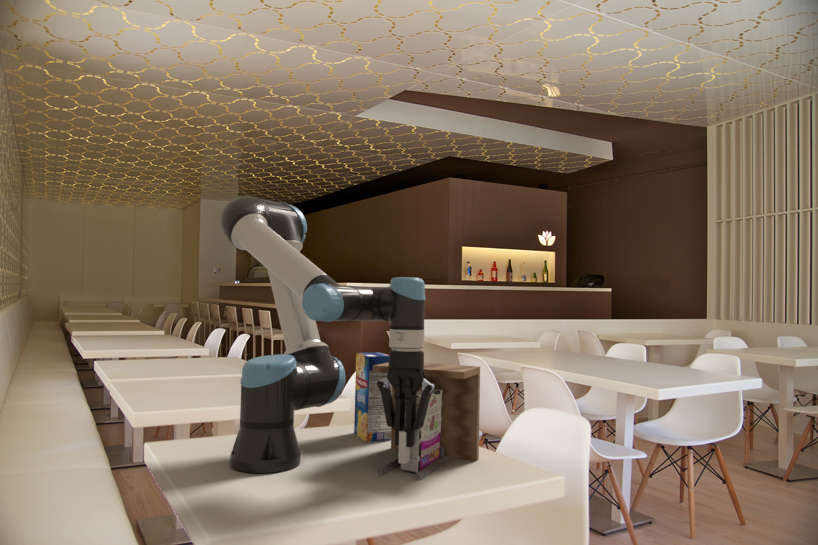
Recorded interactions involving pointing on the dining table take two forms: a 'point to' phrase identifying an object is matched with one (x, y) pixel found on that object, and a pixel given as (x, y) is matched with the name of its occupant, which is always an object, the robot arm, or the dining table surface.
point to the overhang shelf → (449, 413)
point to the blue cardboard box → (370, 399)
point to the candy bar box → (426, 434)
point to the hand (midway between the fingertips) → (404, 461)
